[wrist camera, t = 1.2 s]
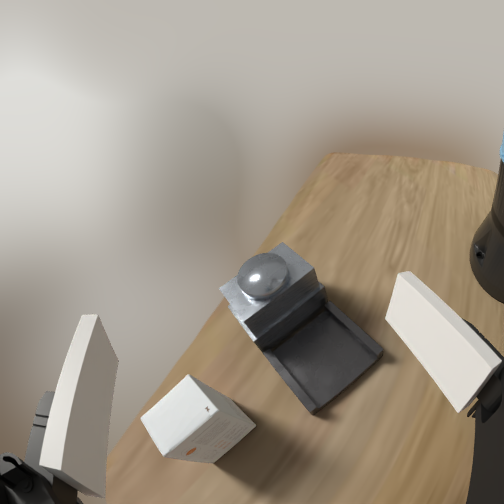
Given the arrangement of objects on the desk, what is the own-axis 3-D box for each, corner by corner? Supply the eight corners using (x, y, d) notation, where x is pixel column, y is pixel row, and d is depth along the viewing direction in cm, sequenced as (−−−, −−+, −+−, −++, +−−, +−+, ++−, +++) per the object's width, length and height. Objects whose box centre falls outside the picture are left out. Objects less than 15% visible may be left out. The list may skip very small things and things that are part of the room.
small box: (230, 398, 34) (189, 371, 27) (258, 426, 30) (220, 408, 23) (189, 434, 31) (137, 417, 24) (212, 464, 27) (162, 457, 20)
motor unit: (299, 279, 43) (281, 232, 36) (382, 355, 30) (387, 316, 23) (241, 323, 41) (210, 283, 34) (312, 415, 29) (293, 396, 22)
